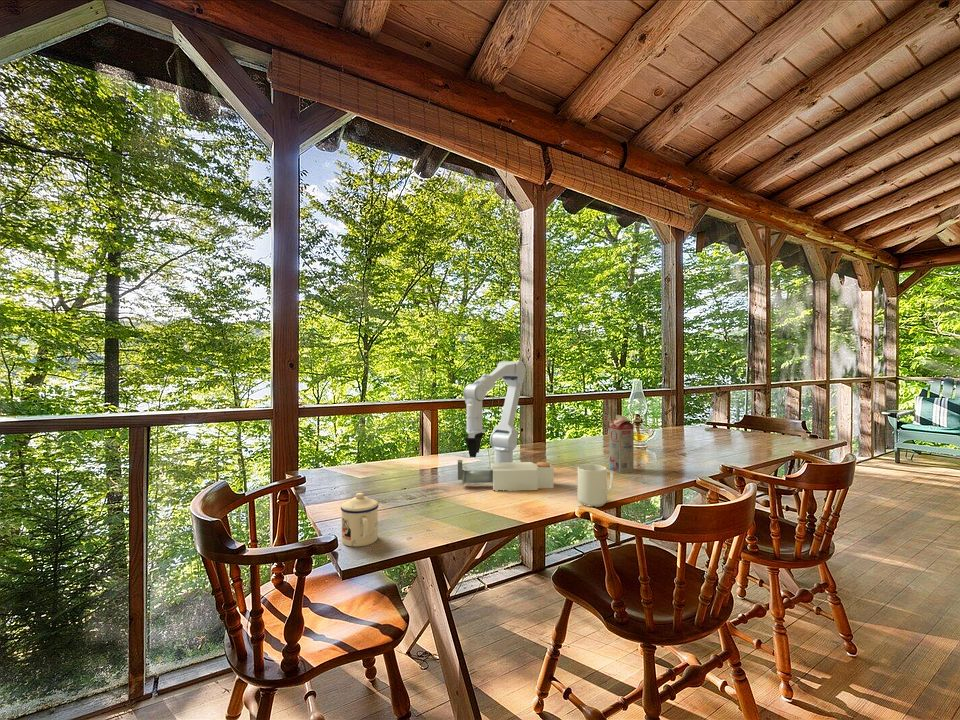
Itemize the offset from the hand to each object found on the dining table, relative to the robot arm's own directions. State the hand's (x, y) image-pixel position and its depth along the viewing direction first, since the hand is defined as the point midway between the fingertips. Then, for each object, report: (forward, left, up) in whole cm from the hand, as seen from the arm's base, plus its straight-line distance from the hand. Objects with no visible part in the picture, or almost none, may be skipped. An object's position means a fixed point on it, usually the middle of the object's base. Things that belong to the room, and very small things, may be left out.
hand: (474, 454), depth 172 cm
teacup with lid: (+54, -30, -10) cm, 63 cm away
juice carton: (-14, +59, -10) cm, 61 cm away
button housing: (+6, +16, -10) cm, 20 cm away
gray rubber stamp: (+6, 0, -9) cm, 11 cm away
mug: (+26, +37, -10) cm, 46 cm away
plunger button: (+6, +24, -6) cm, 25 cm away
